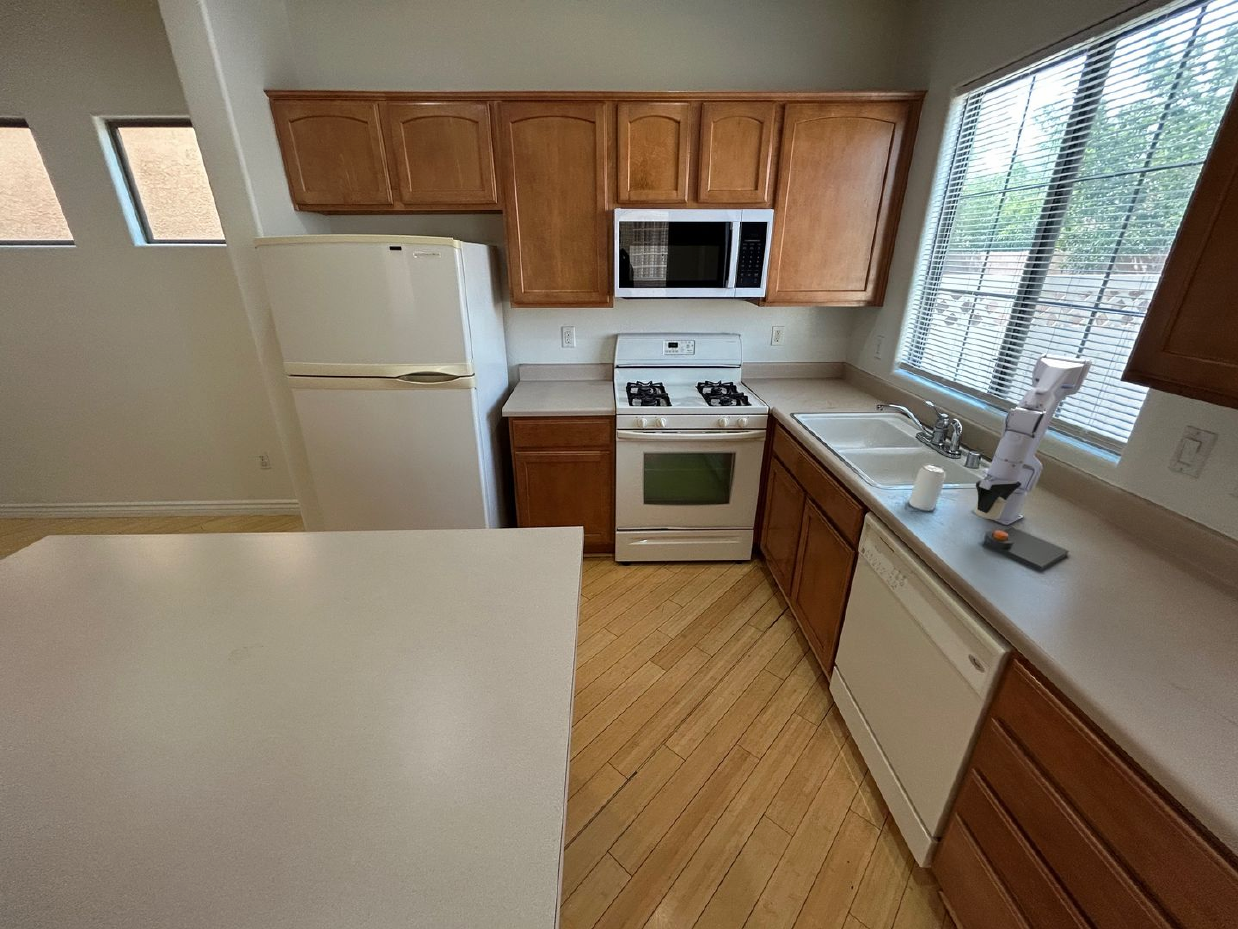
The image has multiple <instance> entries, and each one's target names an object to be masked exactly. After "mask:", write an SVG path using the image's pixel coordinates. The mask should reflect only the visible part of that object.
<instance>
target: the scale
mask: <svg viewBox="0 0 1238 929" xmlns="http://www.w3.org/2000/svg"><path fill="white" fill-rule="evenodd" d="M995 531H996V530H989V531H986V532H985V534H984V537H983V539H984V541H983V543H982V546H984V547H986V548H988V549H991V550H993V551H995V552H997V553H999V554H1001V555H1003V556H1006V557H1008V558H1010V559H1012V560H1014V561H1016V562H1018V563H1020V564H1023V565H1024V566H1027V567H1029V568H1032V569H1033V570H1036V571H1038V572H1041V571H1043V570H1045V569H1046V568H1049V566H1051V565H1054V564H1056V562H1059V561H1060V560H1061V559H1063V558H1065V557H1067V556H1068V554H1069V550H1068V549H1065V548H1063V547H1061V546H1059V545H1056V544H1054V543H1051V542H1049V541H1047V540H1044V539H1042V538H1039V537H1037V536H1035V535H1032V534H1031V533H1028V532H1026V531H1022V530H1020V529H1018V528H1016V527H1013V526H1012V527H1010V528H1008V529H1006V530H1003V531H1004V532H1006V533H1007V534H1008V537H1007V539H1006V541H1003V540H999V539H996V538H994V537H993V535H994V532H995Z"/></svg>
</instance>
